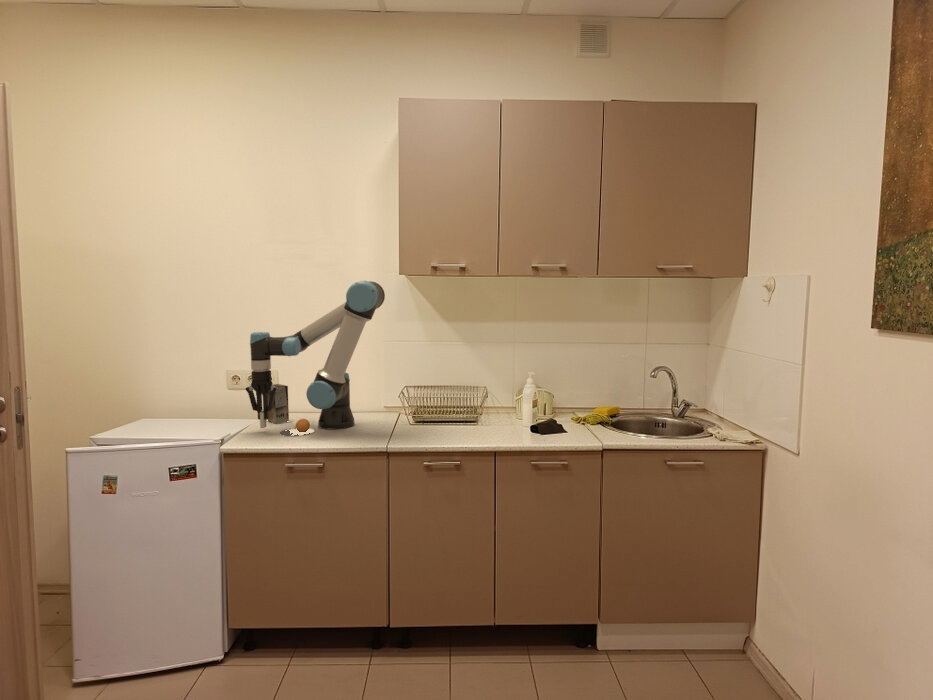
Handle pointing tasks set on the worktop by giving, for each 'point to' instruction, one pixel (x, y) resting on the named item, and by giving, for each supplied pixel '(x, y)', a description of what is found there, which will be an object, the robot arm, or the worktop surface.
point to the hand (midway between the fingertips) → (263, 427)
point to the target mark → (288, 433)
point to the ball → (302, 425)
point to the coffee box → (279, 405)
